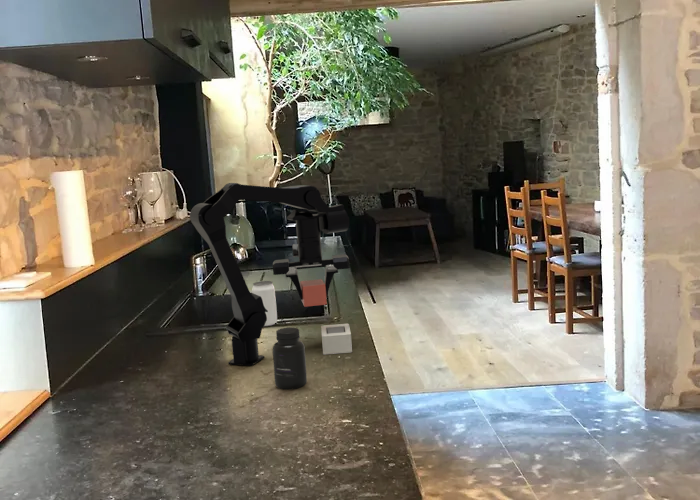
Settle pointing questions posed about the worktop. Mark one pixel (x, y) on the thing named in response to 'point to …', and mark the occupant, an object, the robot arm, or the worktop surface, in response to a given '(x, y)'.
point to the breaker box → (336, 340)
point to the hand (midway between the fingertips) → (313, 298)
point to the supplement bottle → (289, 359)
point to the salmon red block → (313, 292)
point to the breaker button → (335, 330)
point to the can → (267, 299)
